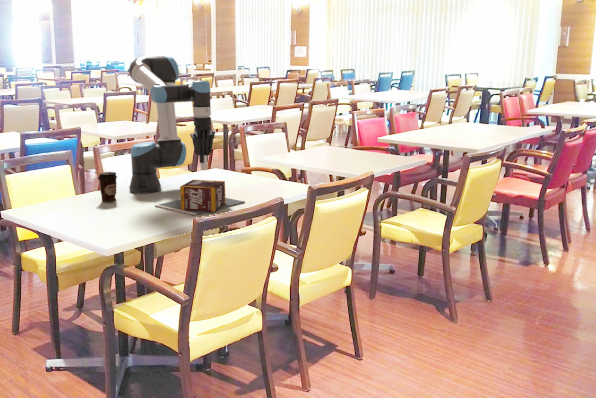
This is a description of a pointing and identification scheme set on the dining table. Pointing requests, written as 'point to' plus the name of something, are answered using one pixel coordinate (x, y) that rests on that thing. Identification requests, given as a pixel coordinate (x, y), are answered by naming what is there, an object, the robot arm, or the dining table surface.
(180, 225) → the dining table surface
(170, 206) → the mat
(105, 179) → the coffee cup
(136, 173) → the robot arm
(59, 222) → the dining table surface
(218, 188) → the supplement box
